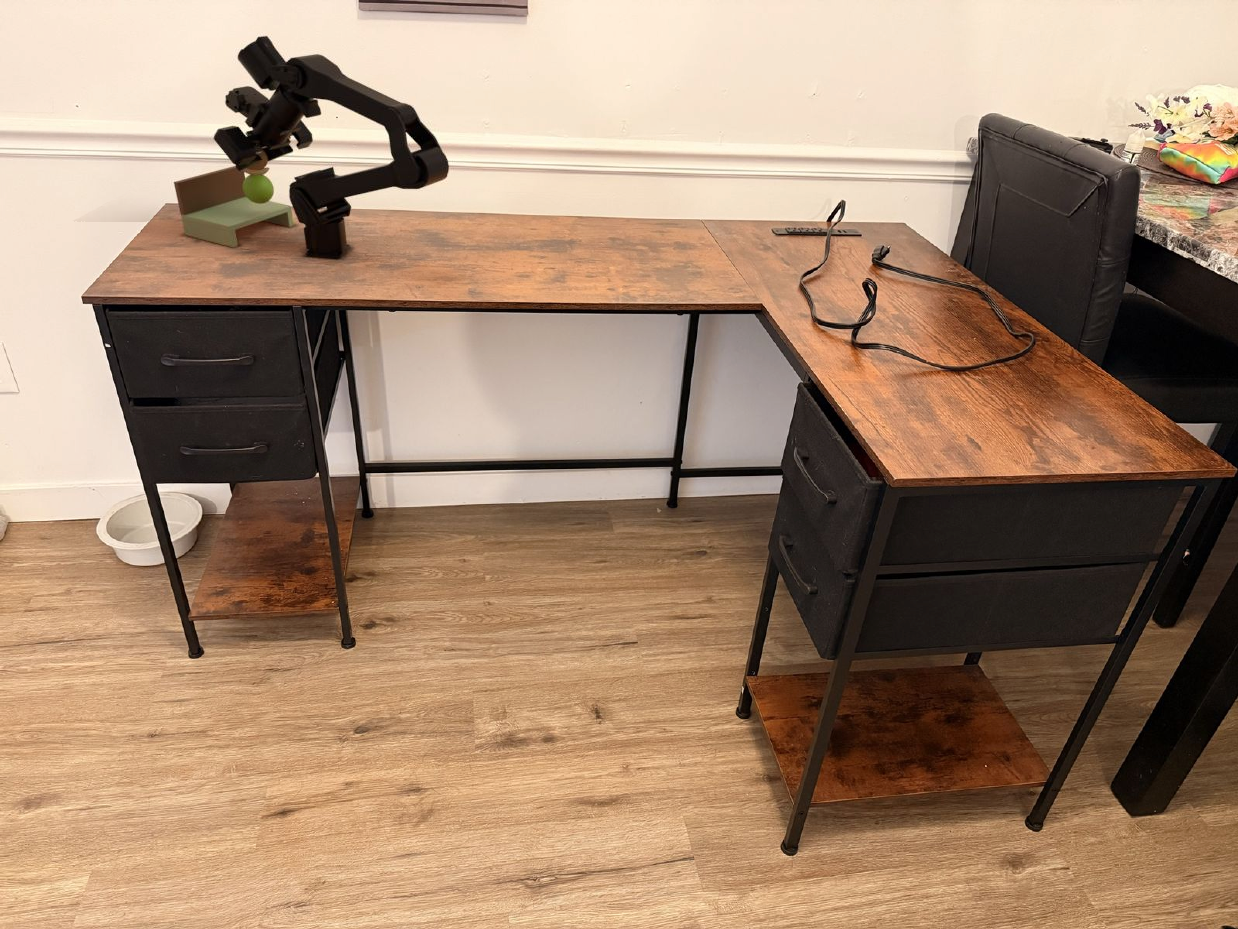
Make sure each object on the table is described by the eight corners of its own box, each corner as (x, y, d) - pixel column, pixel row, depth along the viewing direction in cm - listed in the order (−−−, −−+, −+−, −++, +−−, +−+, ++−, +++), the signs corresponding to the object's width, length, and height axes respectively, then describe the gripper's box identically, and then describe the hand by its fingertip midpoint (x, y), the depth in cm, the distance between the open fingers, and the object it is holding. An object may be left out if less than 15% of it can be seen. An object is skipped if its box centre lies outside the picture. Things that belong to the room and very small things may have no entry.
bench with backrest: (293, 225, 171) (286, 174, 166) (233, 247, 159) (223, 193, 153) (247, 214, 175) (239, 164, 170) (185, 235, 163) (173, 181, 157)
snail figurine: (240, 199, 163) (228, 133, 156) (275, 198, 165) (265, 133, 158) (239, 207, 159) (227, 140, 152) (276, 206, 161) (265, 140, 154)
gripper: (291, 66, 155) (254, 121, 164) (210, 78, 140) (175, 138, 150) (331, 118, 157) (292, 169, 166) (255, 135, 142) (218, 191, 152)
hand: (246, 166), depth 159 cm, fingers closed on snail figurine, 4 cm apart
